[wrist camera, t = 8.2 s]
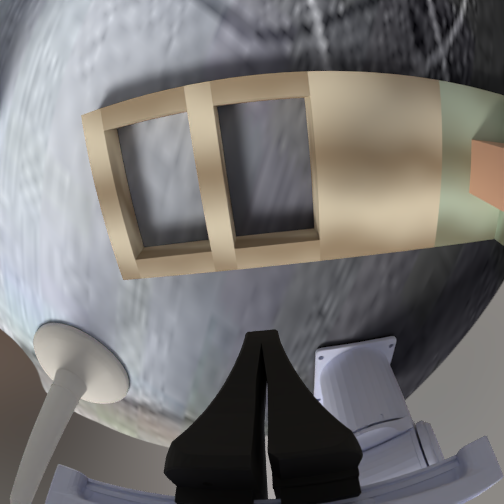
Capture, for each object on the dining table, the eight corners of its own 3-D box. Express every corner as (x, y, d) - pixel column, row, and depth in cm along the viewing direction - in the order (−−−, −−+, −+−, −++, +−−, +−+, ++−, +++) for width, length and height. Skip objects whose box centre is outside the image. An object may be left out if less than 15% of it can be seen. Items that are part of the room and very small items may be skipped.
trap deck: (488, 228, 20) (522, 253, 16) (132, 266, 22) (107, 303, 18) (495, 96, 15) (536, 101, 11) (95, 114, 17) (54, 118, 12)
